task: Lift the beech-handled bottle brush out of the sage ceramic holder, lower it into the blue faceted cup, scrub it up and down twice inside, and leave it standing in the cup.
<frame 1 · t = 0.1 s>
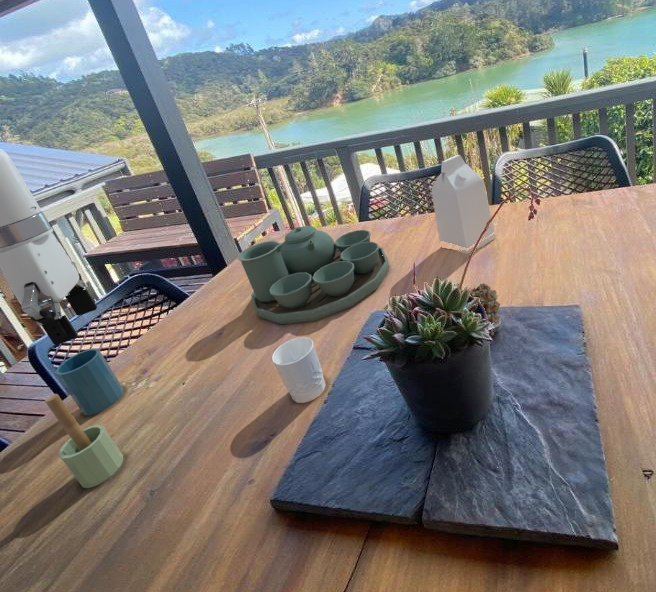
hand: (77, 325, 71), 27 cm above the table, tool pointing down, fingers open, 9 cm apart
blue faceted cup: (105, 403, 97), on the table
tea set: (324, 284, 126), on the table
pine cone: (475, 347, 85), on the table
holder: (104, 472, 78), on the table
milk: (468, 243, 129), on the table
white cup: (309, 391, 85), on the table
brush: (102, 469, 77), point 1 cm above the table, touching holder
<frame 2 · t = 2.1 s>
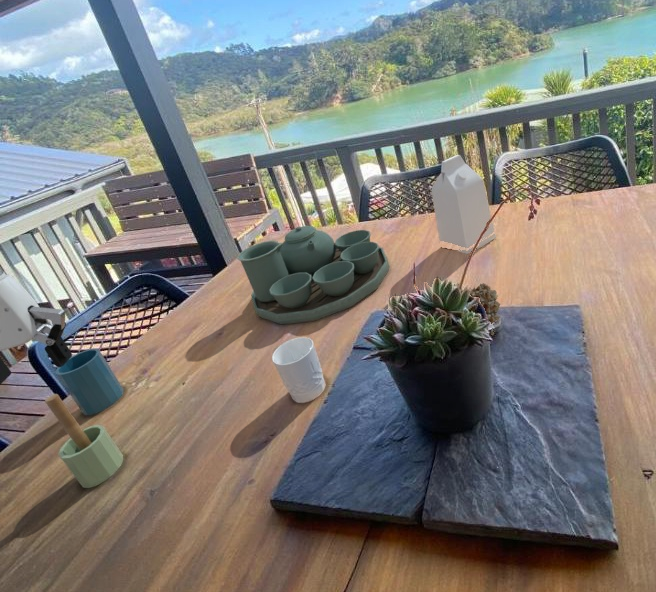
hand: (34, 370, 69), 23 cm above the table, tool pointing down, fingers open, 9 cm apart
nothing on the table moved.
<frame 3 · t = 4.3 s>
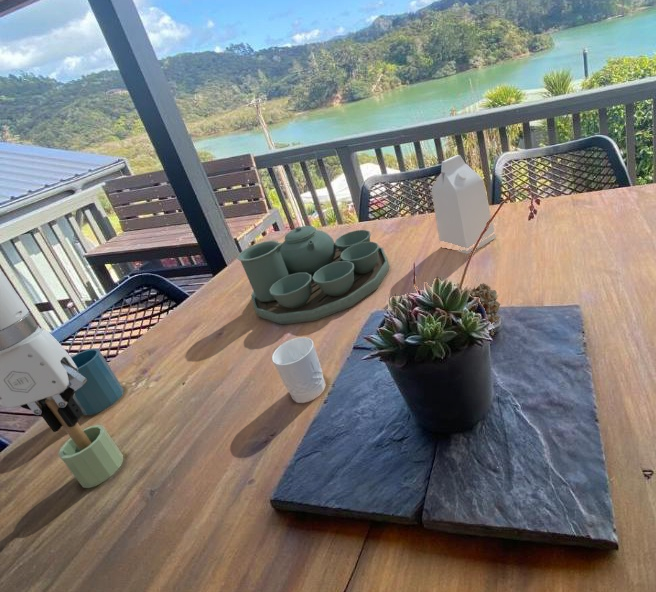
hand: (68, 422, 73), 12 cm above the table, tool pointing down, fingers closed on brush
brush: (102, 469, 77), point 1 cm above the table, touching gripper, holder
everything else where it was.
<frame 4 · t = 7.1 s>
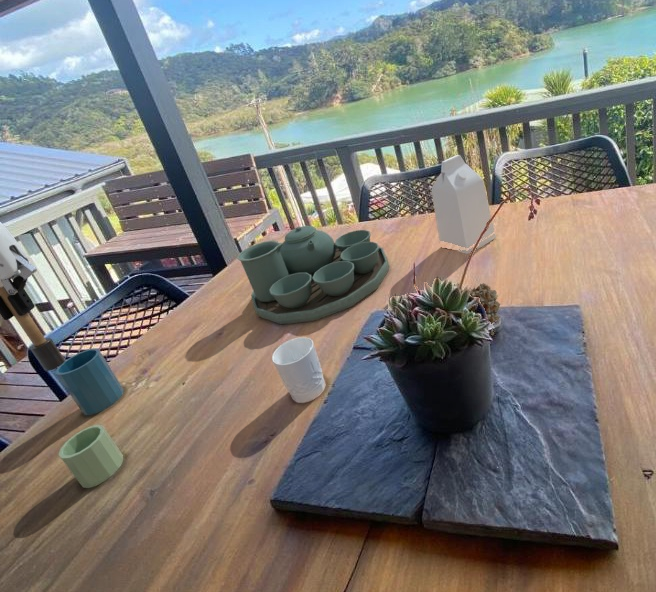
hand: (20, 313, 75), 30 cm above the table, tool pointing down, fingers closed on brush
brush: (55, 365, 80), point 18 cm above the table, touching gripper
everything else where it was.
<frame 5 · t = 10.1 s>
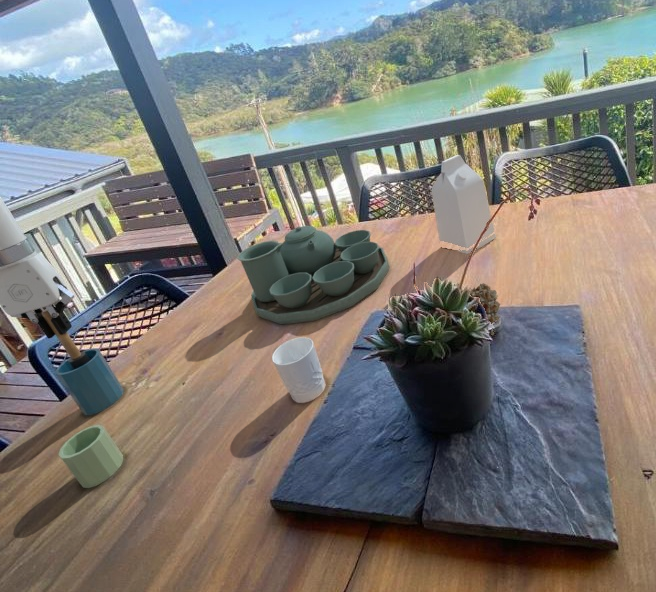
hand: (60, 332, 90), 20 cm above the table, tool pointing down, fingers closed on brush
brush: (88, 374, 95), point 8 cm above the table, touching gripper
everything else where it was.
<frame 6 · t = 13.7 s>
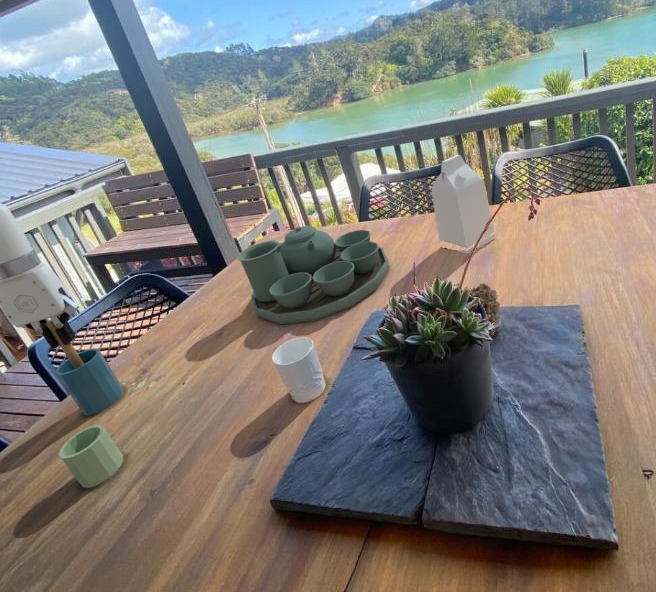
hand: (64, 342, 91), 17 cm above the table, tool pointing down, fingers closed on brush
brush: (91, 384, 95), point 6 cm above the table, touching gripper
everything else where it was.
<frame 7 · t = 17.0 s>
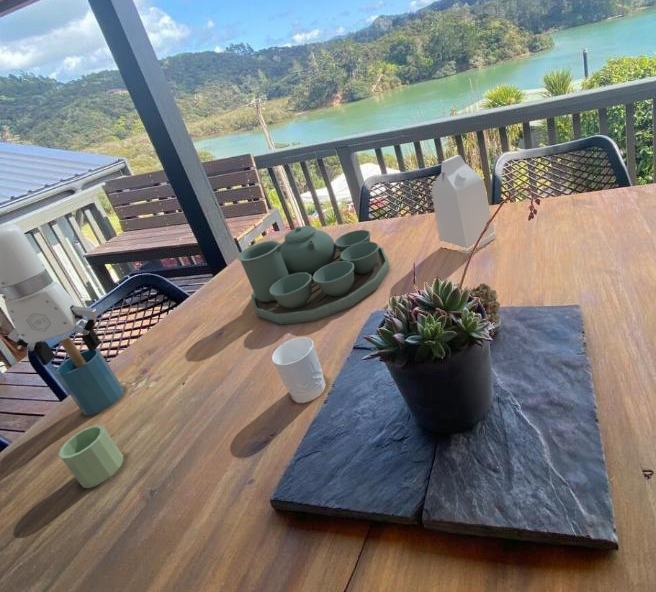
hand: (72, 354, 92), 14 cm above the table, tool pointing down, fingers open, 9 cm apart
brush: (104, 400, 97), point 1 cm above the table, touching blue faceted cup
everything else where it was.
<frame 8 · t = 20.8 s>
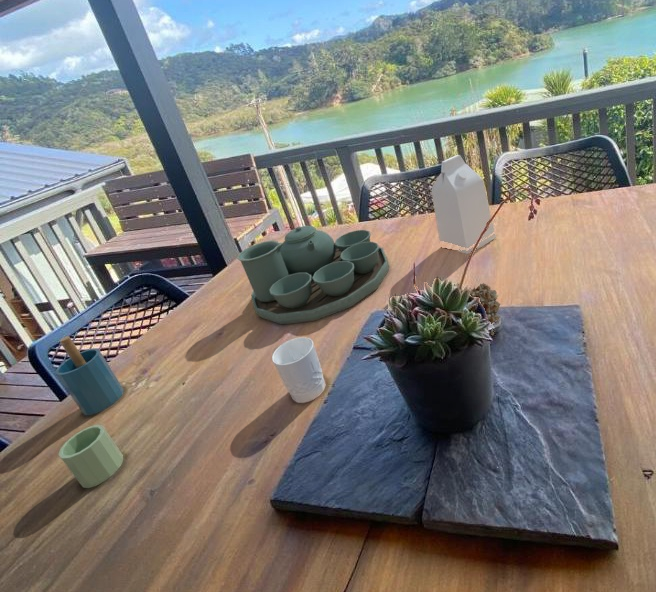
nothing on the table moved.
at the end: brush 0.1 cm off-centre in the blue faceted cup, point 0.8 cm above the blue faceted cup's base; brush tilted 0°; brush moved 24.5 cm from its start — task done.
